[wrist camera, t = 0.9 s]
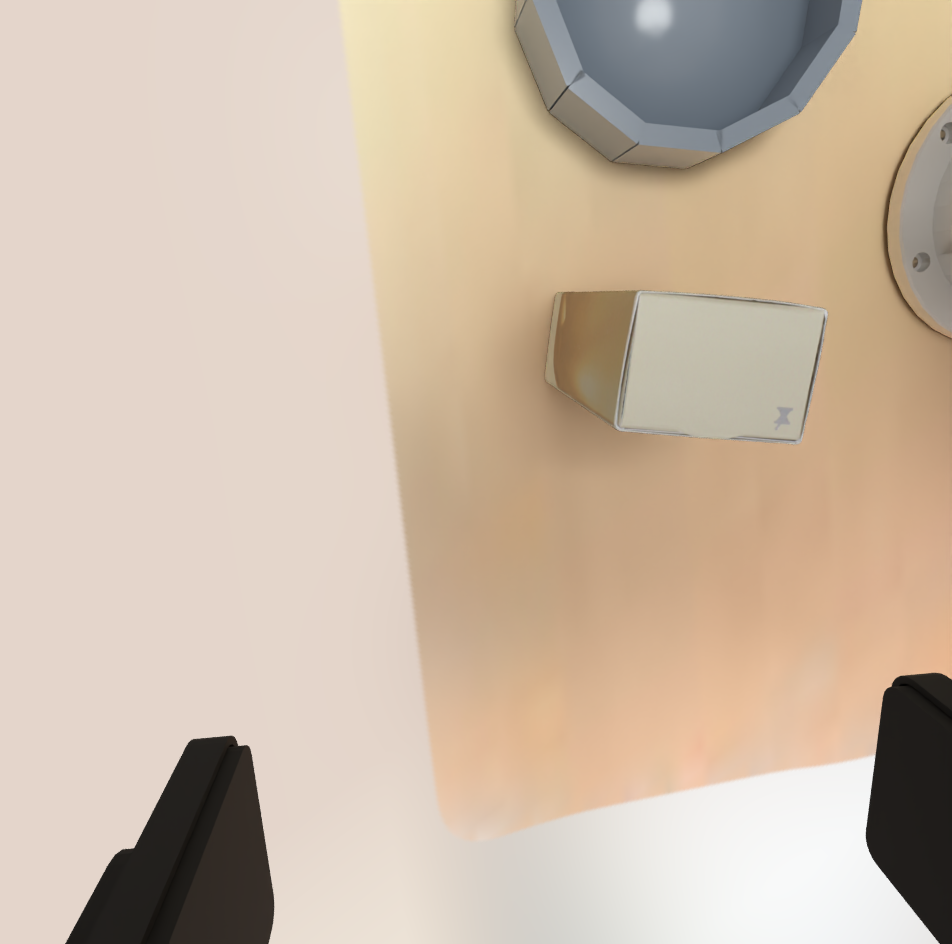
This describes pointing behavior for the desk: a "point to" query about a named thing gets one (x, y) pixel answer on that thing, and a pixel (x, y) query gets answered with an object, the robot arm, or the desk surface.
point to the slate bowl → (679, 69)
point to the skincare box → (688, 362)
